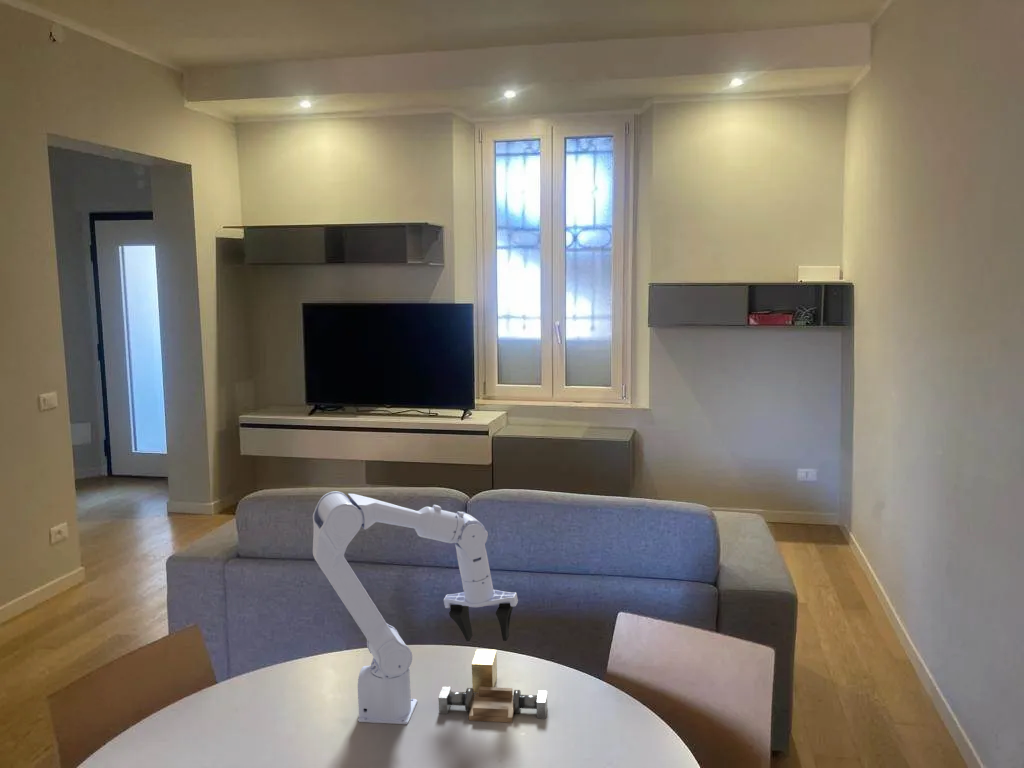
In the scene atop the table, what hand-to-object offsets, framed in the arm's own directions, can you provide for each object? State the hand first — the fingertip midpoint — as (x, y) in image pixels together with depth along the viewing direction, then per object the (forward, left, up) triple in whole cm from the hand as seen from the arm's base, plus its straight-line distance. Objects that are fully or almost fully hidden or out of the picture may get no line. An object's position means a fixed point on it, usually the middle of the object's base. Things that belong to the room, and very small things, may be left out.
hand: (487, 638), depth 158 cm
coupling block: (-1, +1, -10) cm, 10 cm away
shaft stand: (+2, -8, -10) cm, 13 cm away
